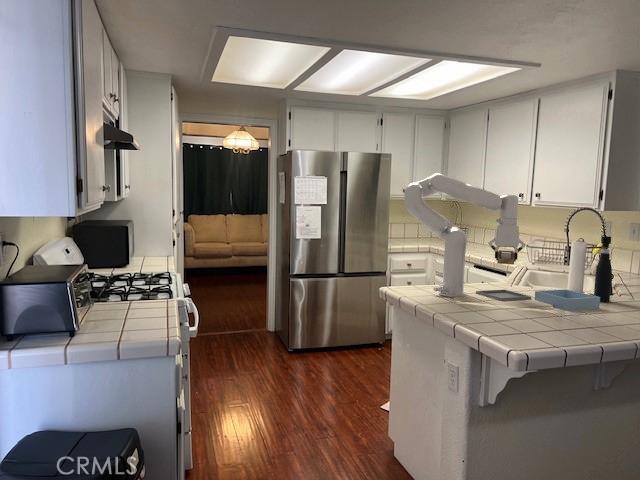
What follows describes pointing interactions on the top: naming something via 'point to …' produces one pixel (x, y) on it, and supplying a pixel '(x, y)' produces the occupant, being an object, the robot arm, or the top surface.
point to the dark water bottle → (603, 273)
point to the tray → (503, 295)
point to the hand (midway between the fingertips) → (505, 260)
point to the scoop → (505, 261)
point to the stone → (506, 255)
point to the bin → (568, 299)
